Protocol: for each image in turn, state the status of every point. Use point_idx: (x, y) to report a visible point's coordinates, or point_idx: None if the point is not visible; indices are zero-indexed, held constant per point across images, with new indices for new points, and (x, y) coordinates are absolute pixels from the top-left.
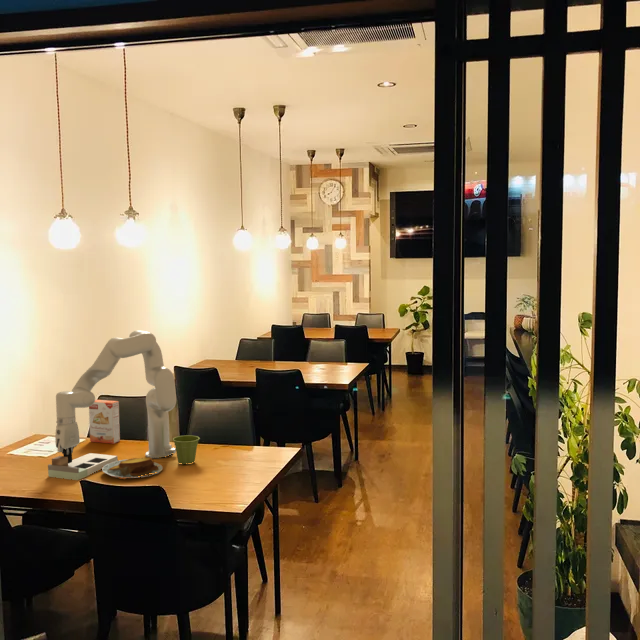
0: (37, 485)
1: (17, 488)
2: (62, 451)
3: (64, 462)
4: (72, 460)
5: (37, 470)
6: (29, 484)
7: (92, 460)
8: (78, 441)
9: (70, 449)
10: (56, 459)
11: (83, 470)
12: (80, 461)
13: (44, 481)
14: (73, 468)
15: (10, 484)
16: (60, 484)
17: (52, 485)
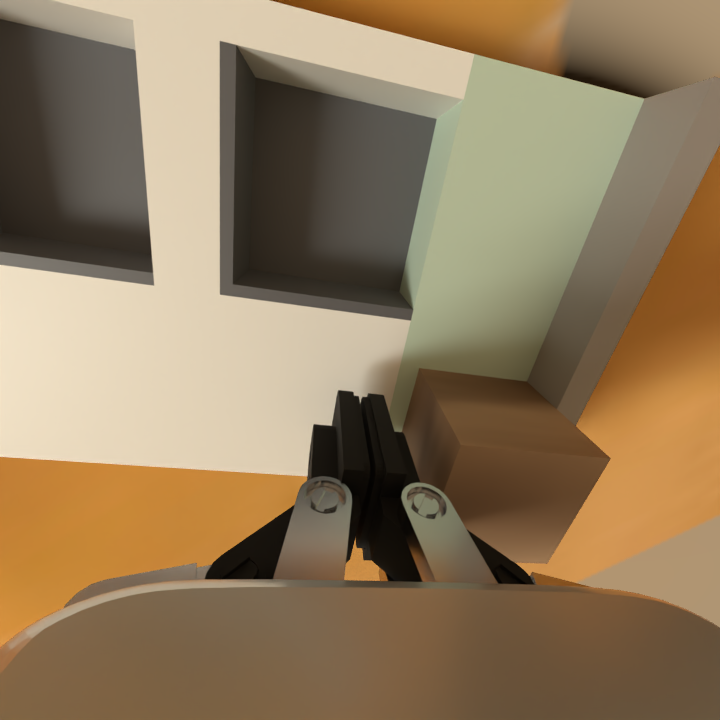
0: (678, 402)
1: (710, 476)
2: (538, 581)
3: (502, 413)
4: (181, 458)
5: (348, 571)
6: (642, 460)
7: (35, 252)
8: (54, 702)
9: (346, 550)
10: (578, 507)
11: (554, 76)
12: (177, 361)
13: (590, 409)
14: (700, 170)
15: (620, 545)
16: (699, 238)
17: (709, 294)
